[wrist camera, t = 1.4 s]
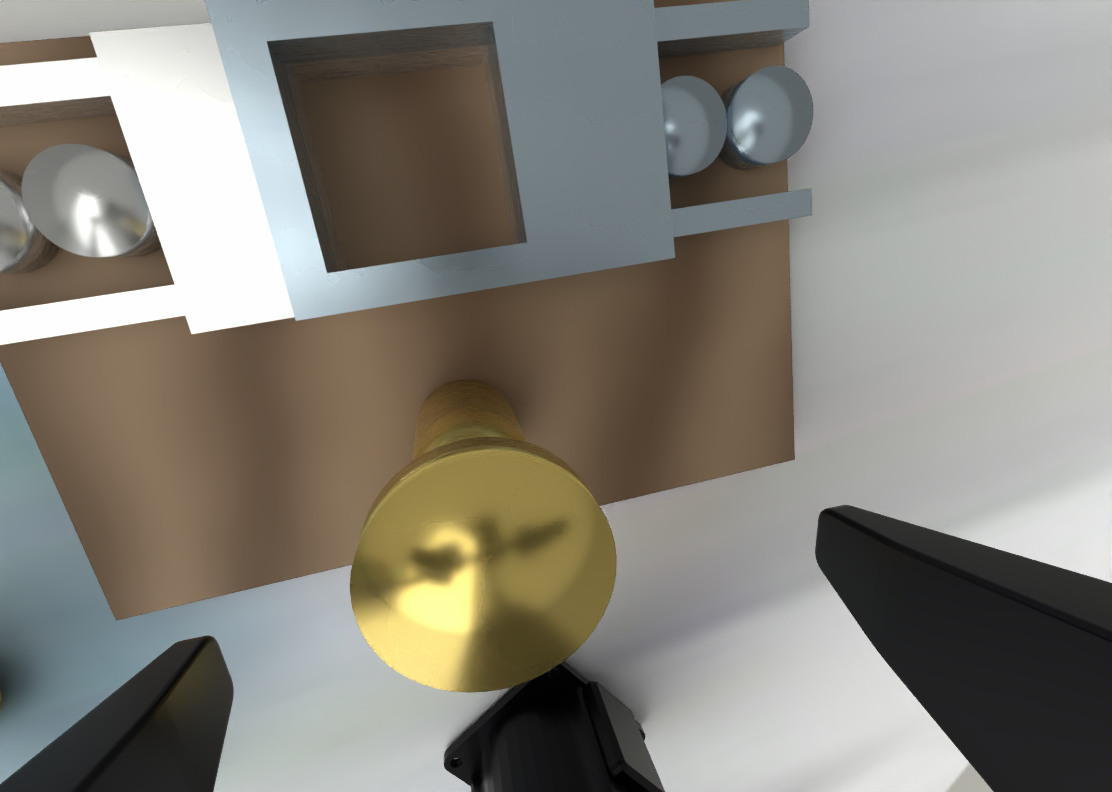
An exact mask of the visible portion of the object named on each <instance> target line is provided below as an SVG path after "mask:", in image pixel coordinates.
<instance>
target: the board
mask: <svg viewBox="0 0 1112 792" xmlns="http://www.w3.org/2000/svg"><path fill="white" fill-rule="evenodd" d="M729 1H740V0H654V8H661V7H672V6H684V5H695V4H706V3H717V2H729ZM96 57H97V55H96V52H95V49H94V46H93V43H92V40H91V37H90V36H83V37H70V38H58V39H46V40H34V41H22V42H10V43H0V66H5V65H17V64H28V63H39V62H51V61H62V60H73V59H85V58H96ZM769 66H783V67H784V43H782V44H780V45H779V46H773V47H763V48H753V49H744V50H734V51H724V52H715V53H705V54H696V55H686V56H676V57H667V58H659V70H660V82H661V85H662V84H663V83H664V82H666V81H668V80H669V79H672V78H675V77H678V76H694V77H697V78H700V79H702V80H704V81H706V82H707V83H709V84H710V85H711V86H712V87H713V88H714V89H715V90H716V91H717V93H718V94H719V96H721V95H722V93H723V92H724V91H726V90H727V89H728V88H730V87H731V86H733V85H734V84H736V83H738V82H740V81H741V80H743V79H745V78H746V77H748V76H750V75H752V74H753V73H755V72H757V71H758V70H760V69H762V68H765V67H769ZM301 87H302V91H303V95H304V99H305V103H306V107H307V111H308V115H309V119H310V123H311V127H312V131H313V135H314V139H315V143H316V147H317V151H318V155H319V159H320V163H321V167H322V171H323V175H324V179H325V183H326V187H327V191H328V195H329V199H330V203H331V207H332V211H333V215H334V219H335V223H336V227H337V231H338V235H339V239H340V243H341V247H342V251H343V255H344V259H345V263H346V267H347V270H352V269H358V268H365V267H371V266H378V265H384V264H390V263H397V262H403V261H410V260H416V259H423V258H429V257H436V256H442V255H449V254H455V253H462V252H468V251H475V250H481V249H488V248H494V247H501V246H507V245H513V244H512V238H511V232H510V225H509V219H508V213H507V207H506V201H505V195H504V189H503V183H502V177H501V171H500V165H499V159H498V152H497V146H496V140H495V134H494V128H493V122H492V116H491V110H490V104H489V98H488V92H487V86H486V80H485V73H484V67H483V65H475V66H465V67H455V68H445V69H435V70H426V71H416V72H406V73H396V74H386V75H376V76H366V77H356V78H346V79H336V80H326V81H316V82H306V83H301ZM61 144H82V145H88V146H91V147H95V148H98V149H101V150H104V151H107V152H110V153H114V154H117V155H120V156H123V157H126V158H130V159H132V157H131V155H130V152H129V149H128V146H127V143H126V140H125V137H124V134H123V131H122V128H121V125H120V122H119V119H118V116H117V115H109V116H100V117H90V118H81V119H71V120H61V121H52V122H42V123H33V124H23V125H13V126H4V127H0V170H4V171H8V172H11V173H14V174H16V175H19V176H21V177H23V175H24V172H25V170H26V168H27V166H28V164H29V163H30V162H31V160H32V159H33V158H34V157H35V156H36V155H38V154H39V153H40V152H42V151H43V150H45V149H47V148H50V147H53V146H56V145H61ZM669 190H670V202H671V210H672V209H678V208H685V207H691V206H698V205H705V204H711V203H718V202H724V201H731V200H738V199H744V198H751V197H758V196H764V195H771V194H777V193H784V192H788V185H787V159H785V160H782V161H779V162H776V163H772V164H768V165H765V166H761V167H758V168H754V169H750V170H738V169H734V168H732V167H730V166H728V165H726V164H725V163H724V162H723V161H722V160H721V159H720V158H719V157H718V156H717V157H716V159H715V160H714V161H713V162H712V163H711V164H710V165H709V166H707V167H706V168H705V169H703V170H701V171H699V172H696V173H694V174H691V175H688V176H685V177H681V178H678V179H675V180H672V181H669ZM673 238H674V250H675V258H671V259H665V260H659V261H653V262H647V263H641V264H635V265H629V266H623V267H617V268H611V269H605V270H599V271H593V272H587V273H581V274H575V275H569V276H563V277H557V278H551V279H545V280H539V281H533V282H527V283H521V284H515V285H509V286H503V287H497V288H491V289H485V290H479V291H473V292H467V293H461V294H455V295H449V296H443V297H437V298H431V299H425V300H419V301H413V302H407V303H401V304H395V305H389V306H383V307H377V308H370V309H364V310H358V311H352V312H346V313H340V314H334V315H328V316H322V317H316V318H310V319H304V320H298V321H296V320H295V317H293V318H287V319H281V320H274V321H268V322H262V323H256V324H250V325H244V326H238V327H232V328H226V329H220V330H214V331H208V332H202V333H196V334H191V331H190V328H189V325H188V322H187V319H186V316H178V317H172V318H166V319H160V320H153V321H147V322H141V323H135V324H128V325H122V326H116V327H110V328H103V329H97V330H91V331H85V332H78V333H72V334H66V335H59V336H53V337H47V338H41V339H34V340H28V341H22V342H16V343H9V344H3V345H0V362H1V364H2V367H3V369H4V371H5V373H6V376H7V378H8V380H9V382H10V385H11V387H12V389H13V391H14V394H15V396H16V398H17V400H18V402H19V405H20V407H21V409H22V411H23V414H24V416H25V418H26V420H27V423H28V425H29V427H30V429H31V432H32V434H33V436H34V438H35V440H36V443H37V445H38V447H39V449H40V452H41V454H42V456H43V458H44V461H45V463H46V465H47V467H48V470H49V472H50V474H51V476H52V478H53V481H54V483H55V485H56V487H57V490H58V492H59V494H60V496H61V499H62V501H63V503H64V505H65V508H66V510H67V512H68V514H69V516H70V519H71V521H72V523H73V525H74V528H75V530H76V532H77V534H78V537H79V539H80V541H81V543H82V546H83V548H84V550H85V552H86V554H87V557H88V559H89V561H90V563H91V566H92V568H93V570H94V572H95V575H96V577H97V579H98V581H99V584H100V586H101V588H102V590H103V592H104V595H105V597H106V599H107V601H108V604H109V606H110V608H111V610H112V613H113V615H114V617H115V619H116V620H121V619H125V618H129V617H133V616H137V615H142V614H146V613H150V612H154V611H158V610H163V609H167V608H171V607H175V606H180V605H184V604H188V603H192V602H196V601H201V600H205V599H209V598H213V597H217V596H222V595H226V594H230V593H234V592H239V591H243V590H247V589H251V588H255V587H260V586H264V585H268V584H272V583H276V582H281V581H285V580H289V579H293V578H298V577H302V576H306V575H310V574H314V573H319V572H323V571H327V570H331V569H335V568H340V567H344V566H348V565H352V564H353V559H354V555H355V552H356V548H357V545H358V541H359V538H360V534H361V531H362V528H363V525H364V522H365V519H366V516H367V514H368V511H369V510H370V508H371V506H372V504H373V502H374V500H375V498H376V497H377V496H378V494H379V493H380V491H381V490H382V489H383V487H384V486H385V485H386V484H387V483H388V482H389V480H390V479H391V478H392V477H393V476H394V475H395V474H396V473H397V472H398V471H400V470H401V469H402V468H403V467H405V466H406V465H407V464H408V463H410V462H411V461H412V454H413V447H414V440H415V433H416V427H417V420H418V415H419V412H420V409H421V407H422V405H423V403H424V402H425V400H426V399H427V397H428V396H429V395H430V394H431V393H432V392H433V391H435V390H436V389H437V388H439V387H440V386H442V385H444V384H446V383H448V382H452V381H455V380H461V379H473V380H478V381H482V382H485V383H487V384H489V385H492V386H493V387H495V388H496V389H498V390H499V391H500V392H501V393H502V394H503V395H504V396H505V398H506V399H507V401H508V402H509V404H510V406H511V408H512V410H513V412H514V415H515V417H516V419H517V421H518V423H519V425H520V427H521V430H522V432H523V434H524V436H525V438H526V440H527V442H528V443H531V444H534V445H537V446H539V447H541V448H543V449H545V450H547V451H550V452H551V453H553V454H554V455H556V456H557V457H559V458H560V459H562V460H563V461H564V462H566V463H567V464H568V465H569V466H570V467H571V468H572V469H573V470H574V471H575V472H576V473H577V474H578V475H579V477H580V478H581V479H582V480H583V481H584V483H585V485H586V486H587V488H588V489H589V491H590V493H591V494H592V496H593V497H594V499H595V500H596V502H597V504H598V505H599V506H601V505H605V504H609V503H614V502H618V501H622V500H626V499H630V498H635V497H639V496H643V495H647V494H651V493H656V492H660V491H664V490H668V489H673V488H677V487H681V486H685V485H689V484H694V483H698V482H702V481H706V480H710V479H715V478H719V477H723V476H727V475H732V474H736V473H740V472H744V471H748V470H753V469H757V468H761V467H765V466H769V465H774V464H778V463H782V462H786V461H791V460H795V453H794V415H793V376H792V338H791V300H790V261H789V223H788V219H785V220H779V221H773V222H767V223H760V224H754V225H748V226H741V227H735V228H729V229H723V230H716V231H710V232H704V233H698V234H691V235H685V236H679V237H673ZM169 285H175V284H174V281H173V278H172V275H171V272H170V269H169V266H168V263H167V260H166V257H165V254H164V251H163V248H162V247H160V248H159V249H157V250H156V251H154V252H152V253H150V254H147V255H144V256H139V257H88V256H82V255H78V254H74V253H72V252H69V251H67V250H65V249H63V248H61V247H59V249H58V251H57V253H56V254H55V256H54V257H53V258H52V259H51V260H50V261H49V262H48V263H47V264H46V265H44V266H43V267H41V268H39V269H36V270H34V271H31V272H26V273H16V274H0V311H3V310H10V309H16V308H23V307H30V306H36V305H43V304H50V303H56V302H63V301H69V300H76V299H83V298H89V297H96V296H102V295H109V294H116V293H122V292H129V291H136V290H142V289H149V288H155V287H162V286H169Z"/></svg>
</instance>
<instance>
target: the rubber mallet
mask: <svg viewBox="0 0 1112 792" xmlns="http://www.w3.org/2000/svg"><path fill="white" fill-rule="evenodd" d="M1 709H2V692H1V690H0V711H1Z"/></svg>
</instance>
